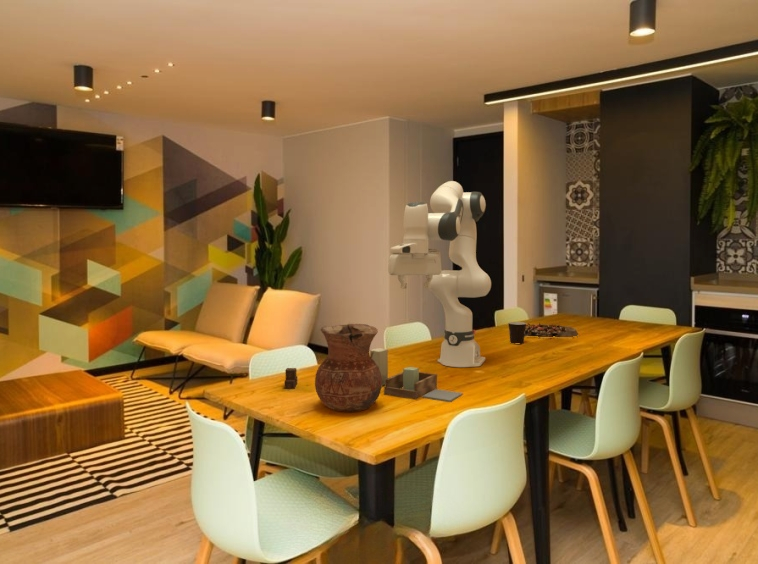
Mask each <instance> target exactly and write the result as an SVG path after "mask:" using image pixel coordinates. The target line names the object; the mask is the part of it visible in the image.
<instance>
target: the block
mask: <svg viewBox="0 0 758 564" xmlns="http://www.w3.org/2000/svg"><path fill="white" fill-rule="evenodd" d="M419 369H420V368H419V367H412V366H408V367H405V368H403V369H402V372H403V387H402V389H406V390H412V391H414V387H415V383H416V382H418V381H419V372H420V370H419Z"/></svg>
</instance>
